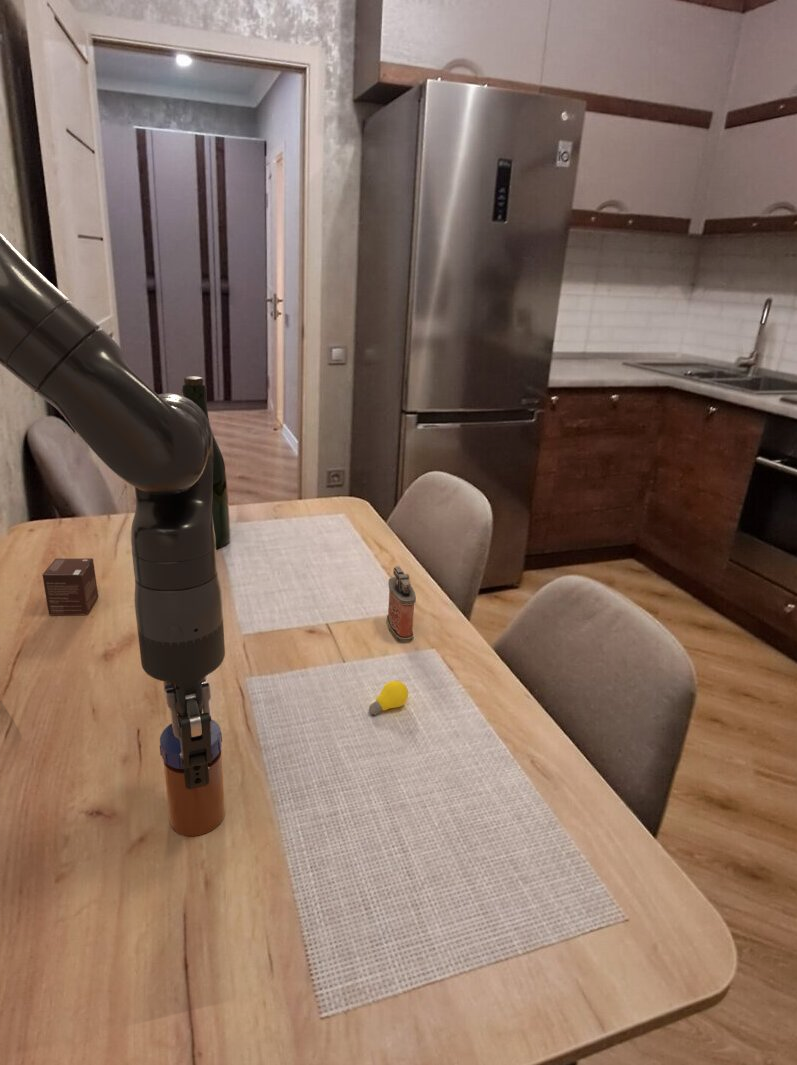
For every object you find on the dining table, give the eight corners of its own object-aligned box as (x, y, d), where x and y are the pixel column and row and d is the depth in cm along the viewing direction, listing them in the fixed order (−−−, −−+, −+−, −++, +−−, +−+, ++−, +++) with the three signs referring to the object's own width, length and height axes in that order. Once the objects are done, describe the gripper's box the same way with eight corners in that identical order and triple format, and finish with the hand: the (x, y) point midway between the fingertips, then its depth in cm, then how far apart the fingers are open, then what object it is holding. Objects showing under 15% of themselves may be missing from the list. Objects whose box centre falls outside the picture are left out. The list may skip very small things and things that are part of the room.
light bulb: (412, 702, 89) (413, 688, 87) (377, 728, 87) (377, 714, 84) (396, 684, 91) (397, 670, 89) (362, 709, 89) (361, 696, 86)
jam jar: (169, 841, 67) (161, 765, 63) (170, 800, 72) (162, 728, 68) (226, 830, 68) (222, 756, 65) (223, 791, 73) (219, 720, 70)
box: (61, 597, 111) (55, 557, 108) (99, 597, 112) (94, 557, 109) (48, 616, 105) (40, 574, 103) (87, 615, 106) (81, 574, 103)
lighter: (417, 641, 104) (421, 584, 100) (396, 644, 103) (399, 586, 99) (402, 616, 111) (405, 562, 107) (382, 618, 110) (385, 563, 106)
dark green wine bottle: (168, 539, 135) (153, 374, 123) (215, 528, 142) (205, 370, 129) (192, 556, 128) (179, 383, 116) (240, 544, 135) (233, 379, 122)
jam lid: (233, 739, 68) (232, 725, 68) (197, 776, 63) (196, 761, 63) (186, 724, 70) (185, 710, 70) (148, 759, 65) (146, 744, 64)
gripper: (237, 651, 56) (244, 804, 63) (210, 579, 69) (218, 713, 75) (142, 667, 54) (160, 826, 60) (132, 589, 66) (147, 728, 72)
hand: (192, 763), depth 67 cm, fingers closed on jam lid, 5 cm apart
